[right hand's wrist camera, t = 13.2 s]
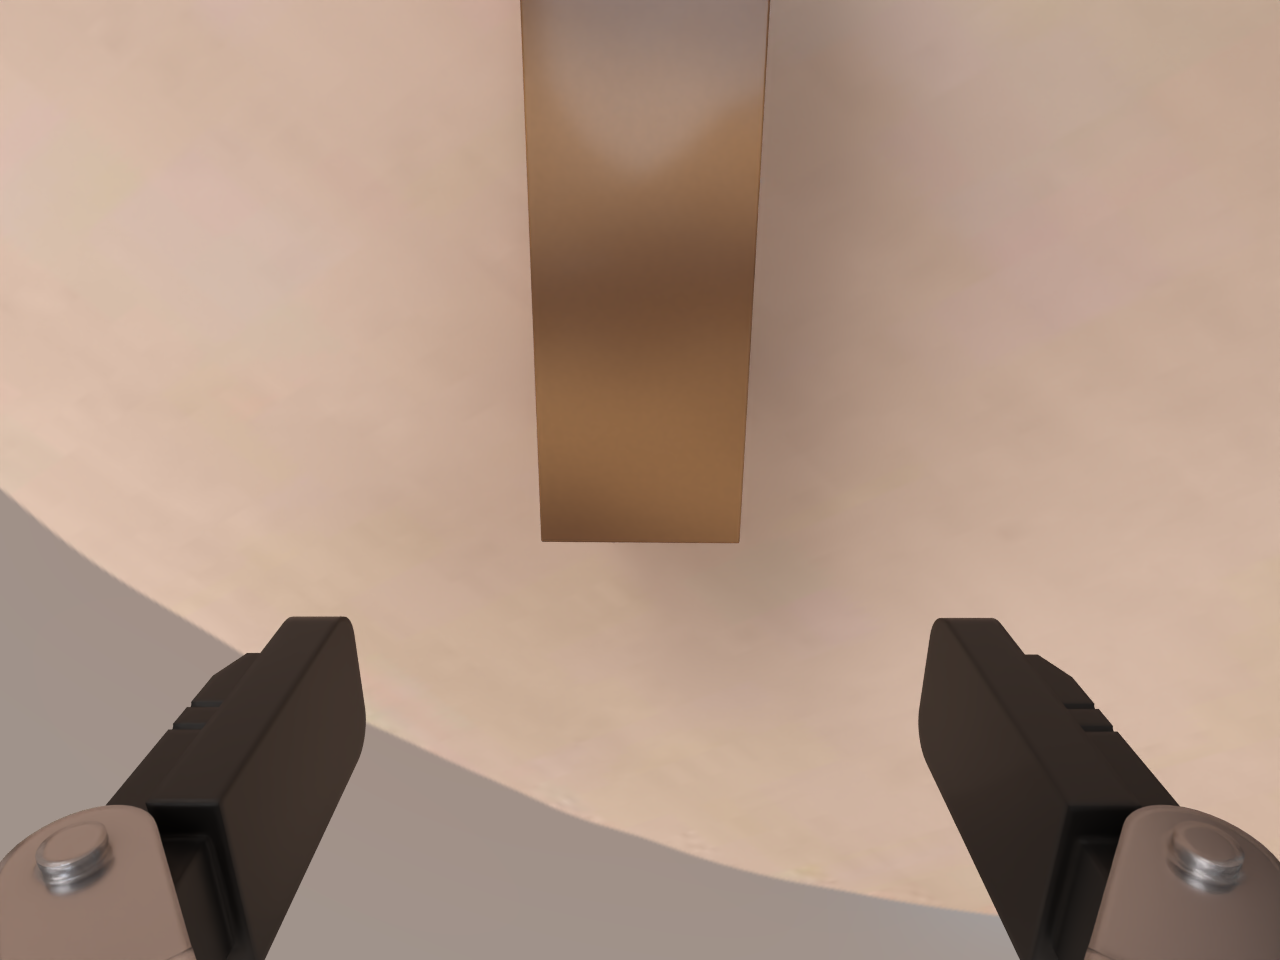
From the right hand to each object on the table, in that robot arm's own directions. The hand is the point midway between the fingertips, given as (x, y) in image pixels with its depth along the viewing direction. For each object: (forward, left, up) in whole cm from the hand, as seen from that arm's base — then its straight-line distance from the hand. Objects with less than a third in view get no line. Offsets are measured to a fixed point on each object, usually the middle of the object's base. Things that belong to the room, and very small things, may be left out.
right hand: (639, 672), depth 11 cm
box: (+7, -6, -24) cm, 26 cm away
